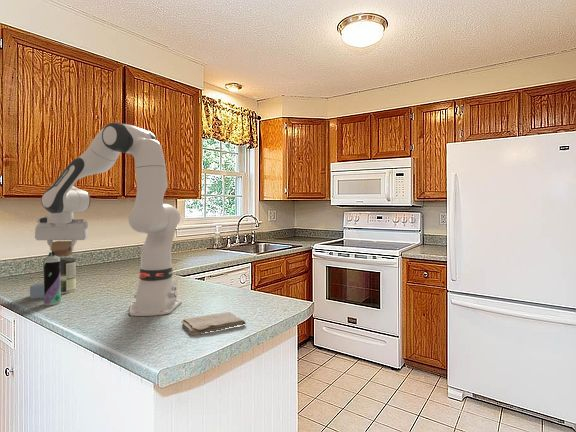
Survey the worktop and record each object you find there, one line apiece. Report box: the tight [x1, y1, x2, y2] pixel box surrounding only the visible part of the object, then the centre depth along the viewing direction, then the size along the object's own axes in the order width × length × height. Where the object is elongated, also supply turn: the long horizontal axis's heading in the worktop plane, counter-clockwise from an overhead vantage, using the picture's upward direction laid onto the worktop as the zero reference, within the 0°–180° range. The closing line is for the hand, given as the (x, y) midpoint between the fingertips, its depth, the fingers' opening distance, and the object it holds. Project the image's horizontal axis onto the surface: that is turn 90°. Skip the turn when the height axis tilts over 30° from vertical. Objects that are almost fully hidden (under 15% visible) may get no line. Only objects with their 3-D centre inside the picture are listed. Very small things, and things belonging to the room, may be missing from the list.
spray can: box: [42, 251, 62, 306], centre depth 141 cm, size 6×6×20 cm
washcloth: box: [181, 312, 246, 336], centre depth 118 cm, size 12×18×3 cm, turn 123°
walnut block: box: [51, 240, 74, 257], centre depth 160 cm, size 6×6×6 cm
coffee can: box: [59, 257, 77, 295], centre depth 160 cm, size 10×10×14 cm
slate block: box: [29, 282, 44, 299], centre depth 151 cm, size 5×5×5 cm
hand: (62, 250), depth 160 cm, fingers closed on walnut block, 6 cm apart
